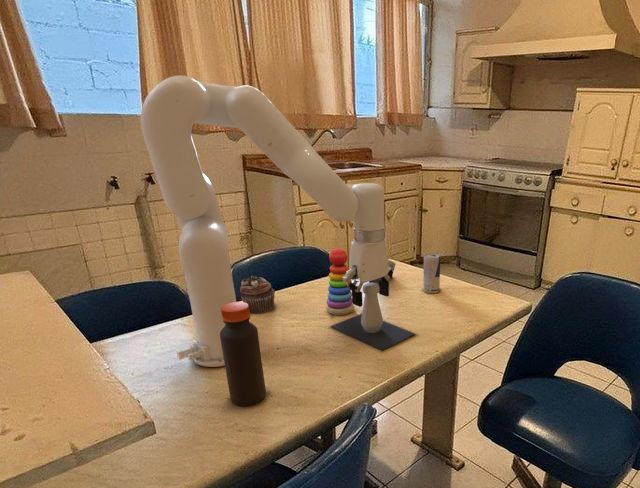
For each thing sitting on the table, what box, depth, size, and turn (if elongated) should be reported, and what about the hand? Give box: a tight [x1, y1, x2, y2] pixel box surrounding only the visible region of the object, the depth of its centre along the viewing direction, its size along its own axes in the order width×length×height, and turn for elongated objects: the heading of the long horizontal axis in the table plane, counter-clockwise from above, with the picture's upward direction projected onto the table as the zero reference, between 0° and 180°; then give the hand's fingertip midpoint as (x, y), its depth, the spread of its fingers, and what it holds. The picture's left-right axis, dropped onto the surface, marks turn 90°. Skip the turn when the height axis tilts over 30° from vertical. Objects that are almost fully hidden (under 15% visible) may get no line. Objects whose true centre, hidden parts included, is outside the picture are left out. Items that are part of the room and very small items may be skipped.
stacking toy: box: [325, 247, 355, 316], centre depth 130 cm, size 8×8×19 cm
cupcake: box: [239, 274, 276, 314], centre depth 133 cm, size 10×10×10 cm
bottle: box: [220, 301, 267, 407], centre depth 89 cm, size 7×7×20 cm
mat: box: [330, 313, 416, 352], centre depth 121 cm, size 12×20×1 cm, turn 49°
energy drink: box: [422, 253, 441, 294], centre depth 148 cm, size 5×5×12 cm
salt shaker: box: [361, 282, 384, 333], centre depth 119 cm, size 6×6×13 cm
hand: (371, 300), depth 118 cm, fingers open, 8 cm apart
